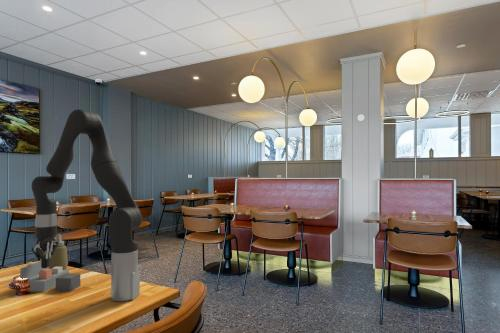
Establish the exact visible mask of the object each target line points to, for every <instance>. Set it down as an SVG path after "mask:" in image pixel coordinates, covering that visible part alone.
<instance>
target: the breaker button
mask: <svg viewBox="0 0 500 333" xmlns="http://www.w3.org/2000/svg"><path fill="white" fill-rule="evenodd" d="M50 277H52V269H43V270H41V271H39V279H48V278H50Z"/></svg>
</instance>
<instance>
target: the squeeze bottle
mask: <svg viewBox="0 0 500 333" xmlns="http://www.w3.org/2000/svg"><path fill="white" fill-rule="evenodd" d="M55 241H56V242H59V244H58V246H57V248H56V250H55V252H54V254H53V255H51V257H50V260H49V269H51V268H54V267H63V270H67V268H68V265H69V261H68V249H67V248H68V247H67V246H66V245H65V240H62V235H61V233H57V235H56V238H55Z"/></svg>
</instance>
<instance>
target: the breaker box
mask: <svg viewBox="0 0 500 333" xmlns="http://www.w3.org/2000/svg"><path fill="white" fill-rule="evenodd" d="M39 259H40V258H39ZM43 269H49V267H47V268H42V267H41V259H40V260H39V261H36V262H34V263H33V262H32V261H29V262H28V263H27V265H25V266H23V267H20V270H19V271H20V273H19V277H20V278H22V279H23V278H30V279H29V280H28V281H27V282H28V283H29V285H30V291H29V292H37V293H39V292H40V293H42V292H43V293H44V292H46V291H49V290H51V289H52V288H54V287H55V286H56V278H57V277H59V276H61V275H63V274H66V273H70V269H66V270H63V267H54V268H51V269H52V277H50V278H48V279H39V271H41V270H43ZM20 278H19V279H20Z"/></svg>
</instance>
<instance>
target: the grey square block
mask: <svg viewBox="0 0 500 333" xmlns="http://www.w3.org/2000/svg"><path fill="white" fill-rule="evenodd" d="M81 282H82V281H81V273H76V272H75V273H70V272H69V273H66V274H63V275H61V276H59V277H57V278H56V286H54V287H55V289H54V291H55V292H73V291H75V290H76V289H77V288H79V287H81Z"/></svg>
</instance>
